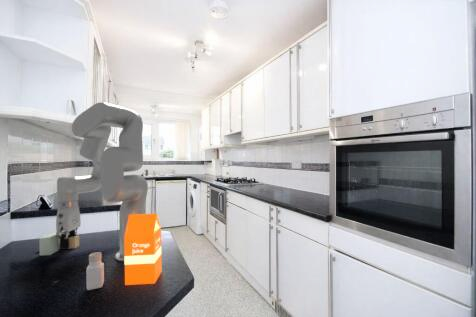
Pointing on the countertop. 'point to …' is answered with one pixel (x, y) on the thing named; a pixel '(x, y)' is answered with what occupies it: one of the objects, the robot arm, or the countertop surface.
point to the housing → (49, 243)
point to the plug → (72, 242)
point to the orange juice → (142, 249)
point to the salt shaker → (95, 271)
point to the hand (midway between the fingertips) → (68, 245)
